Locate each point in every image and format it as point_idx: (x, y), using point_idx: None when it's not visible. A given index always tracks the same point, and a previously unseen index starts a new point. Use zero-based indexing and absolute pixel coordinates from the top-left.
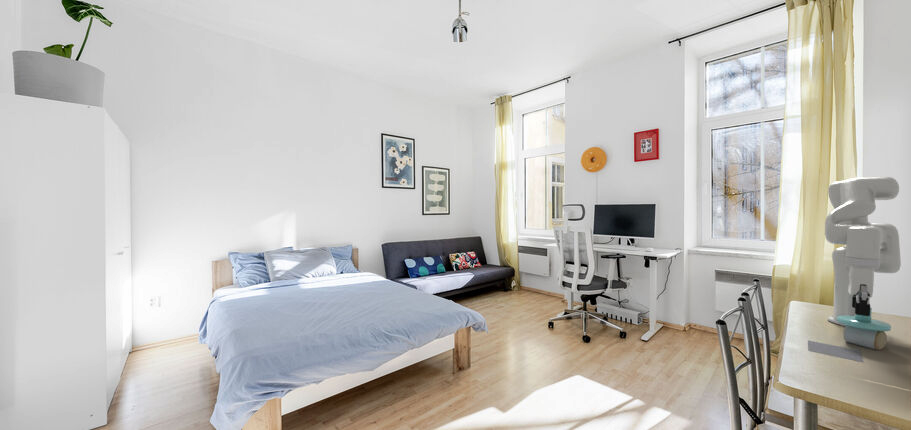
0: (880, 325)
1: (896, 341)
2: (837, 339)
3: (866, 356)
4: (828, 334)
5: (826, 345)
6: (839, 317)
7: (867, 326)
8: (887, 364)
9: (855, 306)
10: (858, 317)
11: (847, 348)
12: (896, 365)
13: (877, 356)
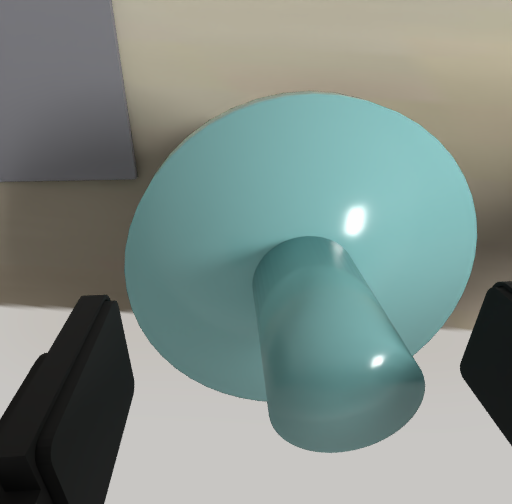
0: (240, 362)
1: (478, 313)
2: (335, 85)
3: (67, 200)
4: (436, 38)
5: (62, 2)
6: (319, 119)
7: (130, 299)
8: (11, 264)
9: (33, 383)
10: (268, 278)
11: (117, 125)
12: (36, 290)
13: (123, 240)
